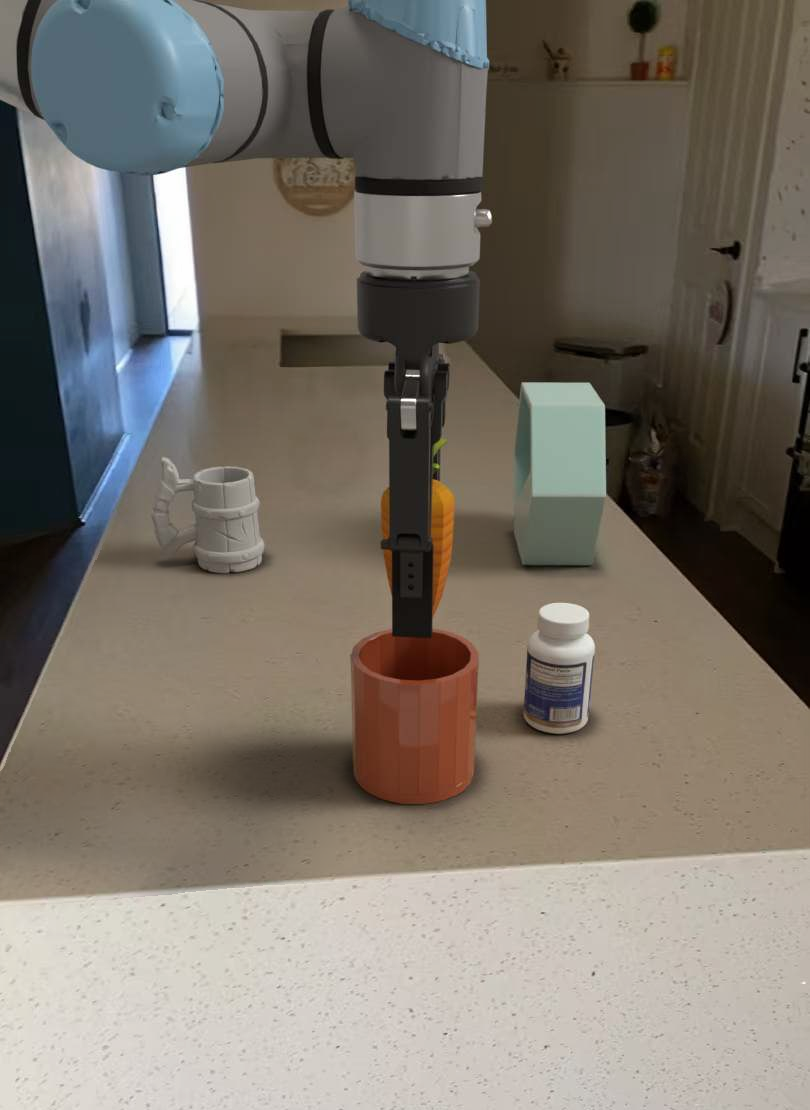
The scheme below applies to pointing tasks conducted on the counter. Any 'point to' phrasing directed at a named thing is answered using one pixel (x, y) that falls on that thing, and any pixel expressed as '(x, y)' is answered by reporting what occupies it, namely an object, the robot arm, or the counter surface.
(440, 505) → the carrot
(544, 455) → the planter
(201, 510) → the mug
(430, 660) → the cup
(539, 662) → the pill bottle
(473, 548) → the counter surface
